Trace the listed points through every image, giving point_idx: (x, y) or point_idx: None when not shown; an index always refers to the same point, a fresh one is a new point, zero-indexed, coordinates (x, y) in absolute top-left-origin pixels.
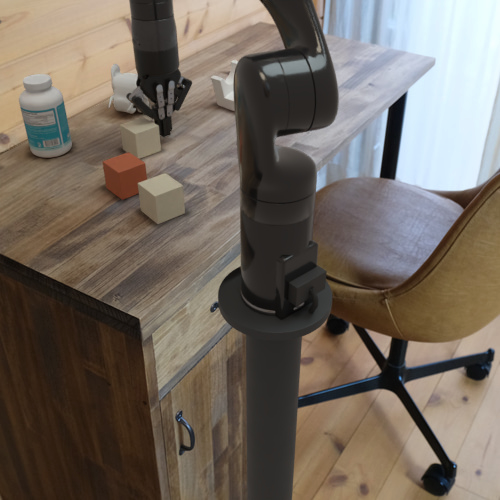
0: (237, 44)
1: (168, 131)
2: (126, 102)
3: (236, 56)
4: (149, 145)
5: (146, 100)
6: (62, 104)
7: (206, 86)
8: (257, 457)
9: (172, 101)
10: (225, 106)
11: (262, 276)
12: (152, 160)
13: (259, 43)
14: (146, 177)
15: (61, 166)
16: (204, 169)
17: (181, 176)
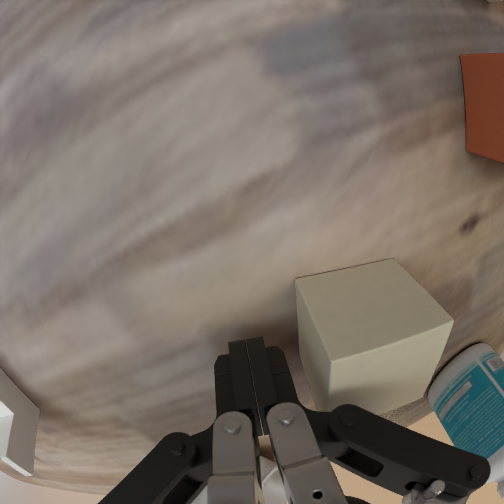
0: (28, 476)
1: (240, 352)
2: (273, 481)
3: None
4: (361, 290)
5: None
6: (502, 441)
7: (64, 455)
8: None
9: (219, 489)
10: (21, 395)
11: None
12: (362, 225)
13: (3, 463)
14: (494, 53)
15: (494, 306)
16: (215, 25)
17: (336, 34)
